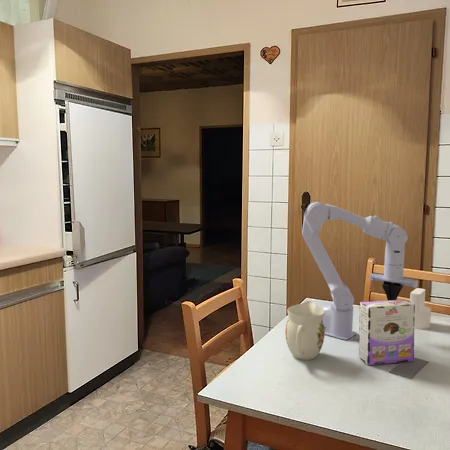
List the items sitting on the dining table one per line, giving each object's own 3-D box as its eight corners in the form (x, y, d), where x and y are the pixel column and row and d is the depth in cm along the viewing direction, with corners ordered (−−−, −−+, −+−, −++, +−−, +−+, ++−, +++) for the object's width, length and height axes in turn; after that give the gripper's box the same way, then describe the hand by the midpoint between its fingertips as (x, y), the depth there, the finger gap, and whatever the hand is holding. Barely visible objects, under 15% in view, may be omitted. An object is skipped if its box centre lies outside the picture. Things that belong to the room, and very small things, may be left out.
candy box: (402, 354, 132) (404, 298, 130) (414, 362, 126) (416, 303, 124) (357, 357, 130) (358, 300, 128) (367, 365, 124) (368, 306, 122)
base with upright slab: (405, 318, 165) (407, 286, 163) (432, 323, 160) (434, 290, 158) (399, 325, 158) (400, 291, 156) (426, 331, 152) (429, 296, 151)
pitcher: (277, 365, 123) (278, 316, 122) (291, 342, 140) (292, 299, 139) (318, 372, 120) (319, 321, 118) (327, 347, 136) (329, 303, 135)
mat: (389, 372, 120) (389, 371, 120) (407, 356, 131) (407, 355, 131) (410, 378, 116) (411, 377, 116) (428, 362, 127) (428, 361, 127)
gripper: (422, 265, 141) (419, 307, 143) (376, 258, 151) (374, 298, 152) (414, 268, 136) (411, 312, 138) (367, 261, 145) (365, 303, 147)
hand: (391, 305), depth 145 cm, fingers closed
